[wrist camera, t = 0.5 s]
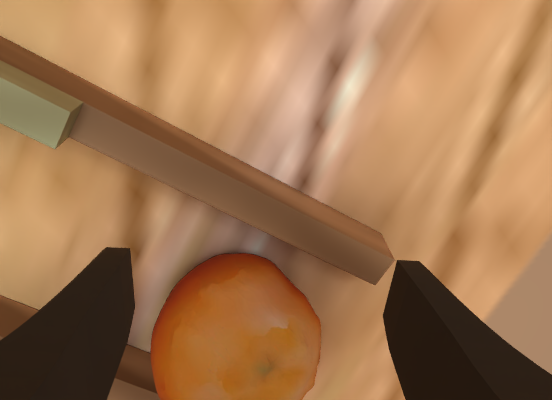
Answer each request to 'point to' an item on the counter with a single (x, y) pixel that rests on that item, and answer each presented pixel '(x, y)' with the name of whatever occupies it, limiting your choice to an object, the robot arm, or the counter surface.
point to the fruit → (235, 334)
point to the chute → (170, 181)
